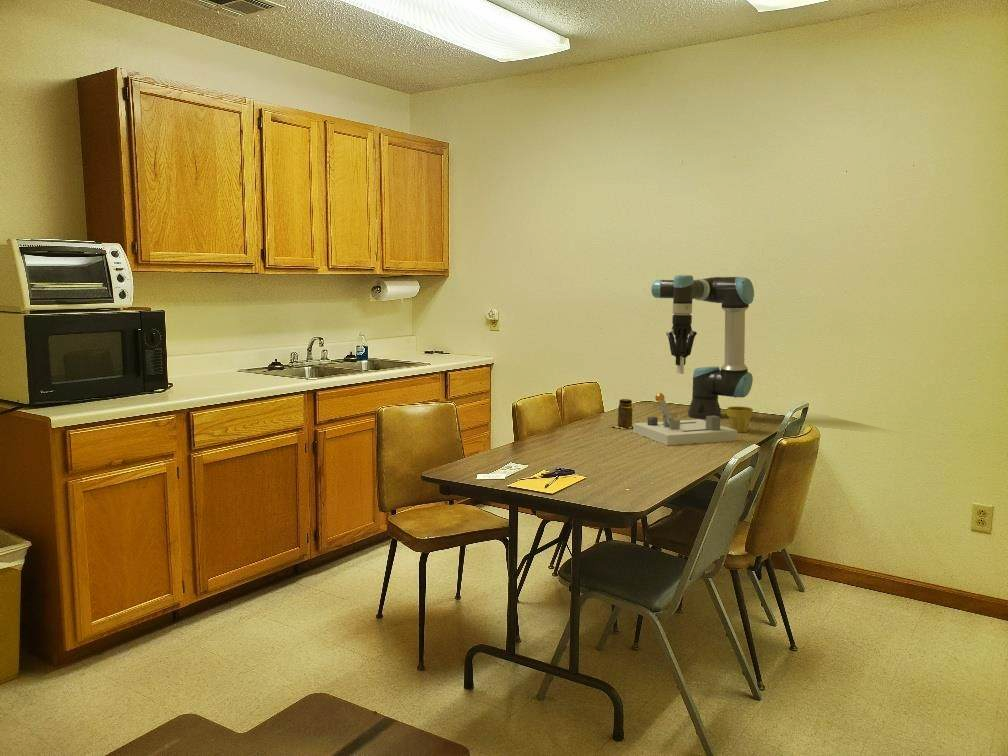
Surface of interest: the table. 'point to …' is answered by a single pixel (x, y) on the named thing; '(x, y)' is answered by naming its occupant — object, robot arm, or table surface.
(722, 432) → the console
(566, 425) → the table surface
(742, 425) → the plant pot
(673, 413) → the brass slider
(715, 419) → the grey slider
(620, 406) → the condiment
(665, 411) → the toggle lever
